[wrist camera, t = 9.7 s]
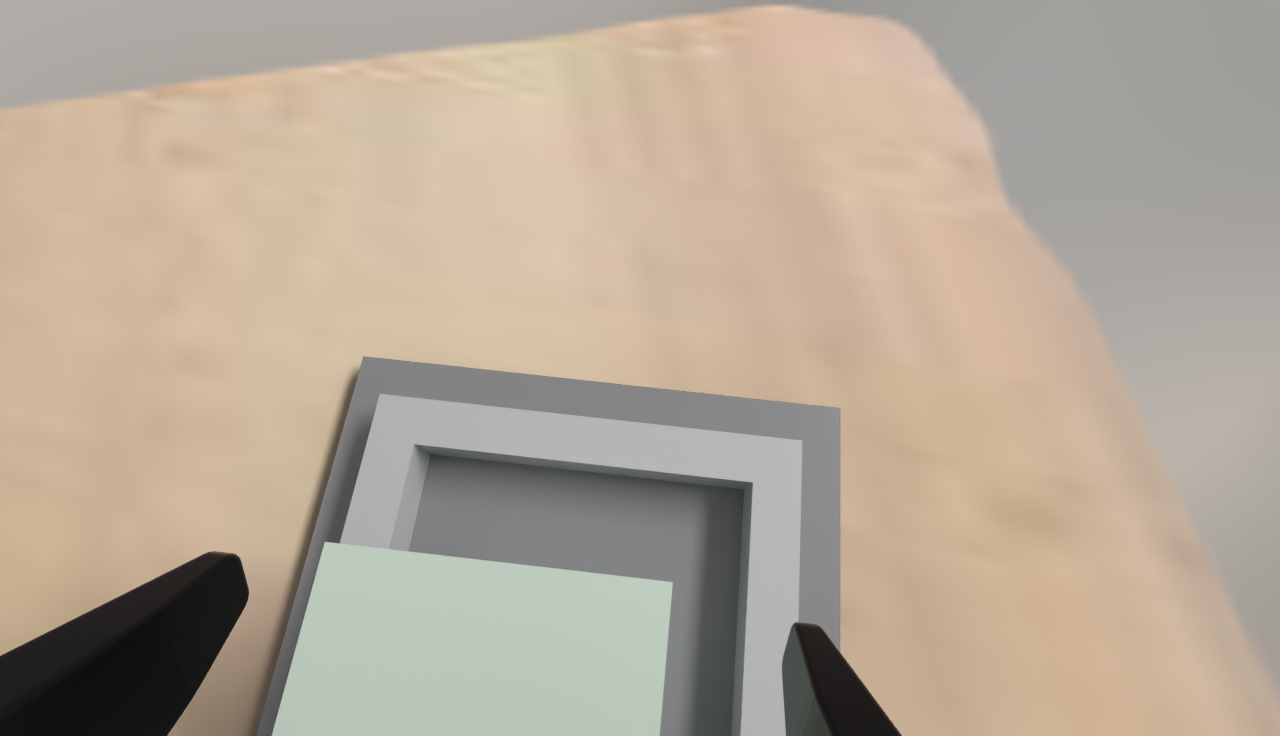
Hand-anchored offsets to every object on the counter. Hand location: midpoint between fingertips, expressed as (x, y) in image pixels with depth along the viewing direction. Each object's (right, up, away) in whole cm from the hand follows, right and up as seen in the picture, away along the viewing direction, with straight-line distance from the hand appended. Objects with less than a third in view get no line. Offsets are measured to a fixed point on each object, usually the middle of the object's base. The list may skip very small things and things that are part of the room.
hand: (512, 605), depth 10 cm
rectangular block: (0, -4, +8) cm, 9 cm away
